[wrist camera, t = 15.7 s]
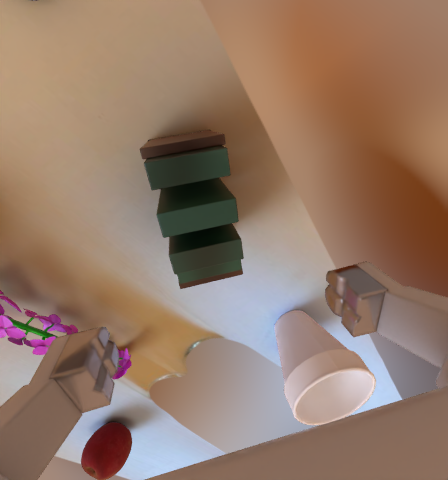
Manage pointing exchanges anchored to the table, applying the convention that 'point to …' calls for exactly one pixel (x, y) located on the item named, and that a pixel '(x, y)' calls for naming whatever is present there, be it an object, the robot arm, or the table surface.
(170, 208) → the green book
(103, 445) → the apple
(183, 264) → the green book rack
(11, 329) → the potted plant
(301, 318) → the cup
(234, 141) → the table surface
